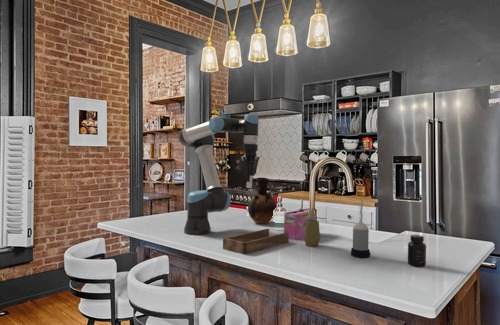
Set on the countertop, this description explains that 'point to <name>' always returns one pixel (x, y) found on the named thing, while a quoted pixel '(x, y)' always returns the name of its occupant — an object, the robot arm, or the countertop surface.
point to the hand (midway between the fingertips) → (249, 187)
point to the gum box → (295, 223)
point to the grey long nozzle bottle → (360, 238)
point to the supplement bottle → (417, 251)
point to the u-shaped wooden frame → (254, 241)
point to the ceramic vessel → (262, 203)
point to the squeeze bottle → (312, 230)
